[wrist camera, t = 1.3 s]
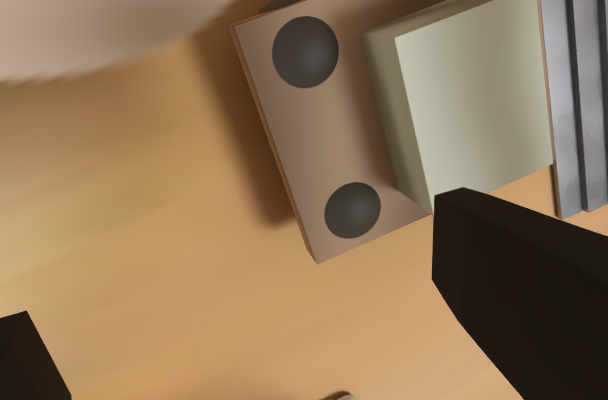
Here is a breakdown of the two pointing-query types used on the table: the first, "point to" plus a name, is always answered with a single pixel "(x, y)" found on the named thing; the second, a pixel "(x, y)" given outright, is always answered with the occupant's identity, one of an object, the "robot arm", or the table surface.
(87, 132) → the table surface
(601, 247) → the robot arm
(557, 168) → the plate
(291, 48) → the square caster platform
